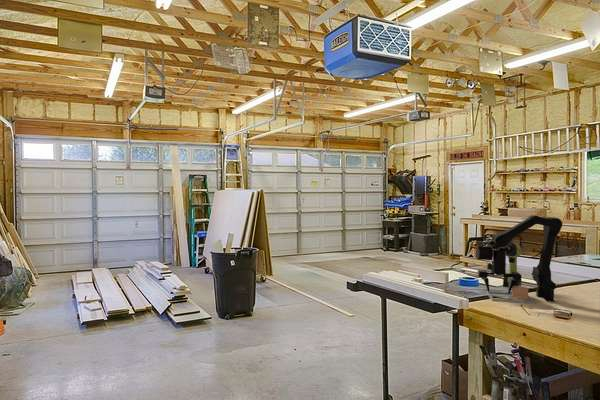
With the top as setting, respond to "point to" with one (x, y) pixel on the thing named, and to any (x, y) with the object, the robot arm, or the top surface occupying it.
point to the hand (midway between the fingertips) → (498, 292)
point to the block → (520, 291)
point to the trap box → (509, 296)
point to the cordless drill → (512, 262)
